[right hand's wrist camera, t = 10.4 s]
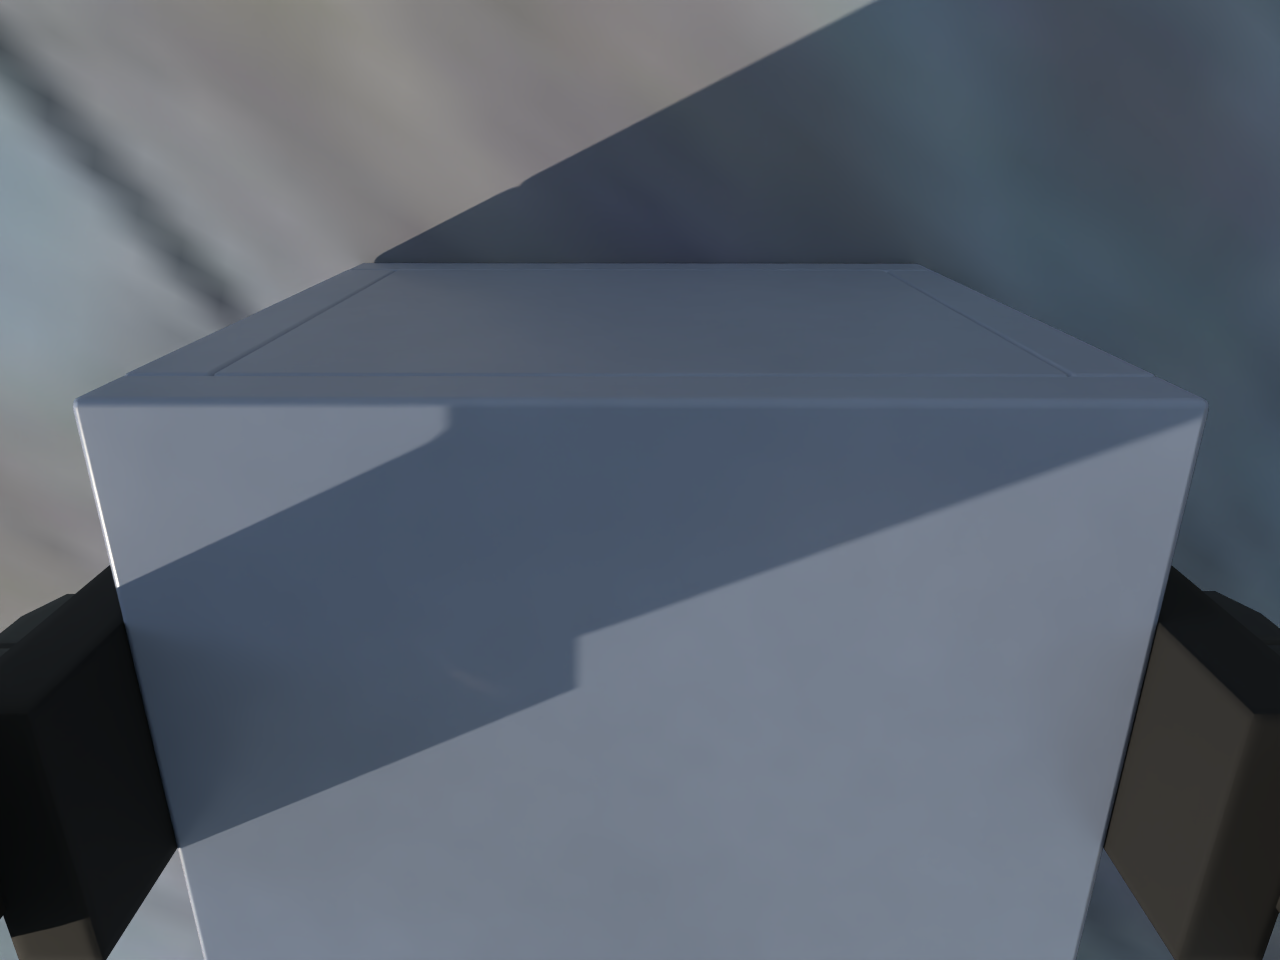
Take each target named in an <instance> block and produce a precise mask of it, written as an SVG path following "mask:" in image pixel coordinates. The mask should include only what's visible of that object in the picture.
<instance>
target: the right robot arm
mask: <svg viewBox="0 0 1280 960" xmlns="http://www.w3.org/2000/svg"><path fill="white" fill-rule="evenodd" d="M177 848H178V847H177V843H176V838H175V834H174V830H173V826H172V822H171V817H170V813H169V809H168V805H167V801H166V796H165V792H164V788H163V784H162V780H161V775H160V771H159V767H158V763H157V759H156V754H155V750H154V746H153V742H152V738H151V733H150V729H149V725H148V721H147V717H146V712H145V708H144V704H143V700H142V696H141V691H140V687H139V683H138V679H137V675H136V670H135V666H134V662H133V658H132V654H131V649H130V645H129V641H128V637H127V633H126V628H125V624H124V620H123V616H122V612H121V607H120V603H119V599H118V595H117V591H116V586H115V582H114V578H113V574H112V570H111V565H109V566H108V567H107V568H106V569H105V570H103V571H102V572H101V573H100V574H99V575H97V576H96V577H95V578H94V579H93V580H91V581H90V582H89V583H88V584H87V585H85V586H84V587H83V588H82V589H81V590H80V591H78V592H77V593H76V594H66V595H64V596H62V597H60V598H58V599H56V600H54V601H52V602H50V603H48V604H46V605H44V606H42V607H40V608H38V609H36V610H34V611H32V612H30V613H28V614H26V615H24V616H22V617H20V618H19V619H18V620H16V621H15V622H14V623H13V624H11V625H10V626H9V627H8V628H6V629H5V630H4V631H3V632H1V633H0V919H1V917H2V916H4V919H5V922H6V924H7V927H8V930H9V933H10V936H11V938H12V941H13V944H14V947H15V950H16V953H17V955H18V958H19V960H106V959H107V958H108V956H109V954H110V953H111V951H112V950H113V948H114V947H115V945H116V943H117V942H118V940H119V939H120V937H121V936H122V934H123V932H124V931H125V929H126V928H127V926H128V925H129V923H130V921H131V920H132V918H133V917H134V915H135V914H136V912H137V910H138V909H139V907H140V906H141V904H142V903H143V901H144V899H145V898H146V896H147V895H148V893H149V892H150V890H151V888H152V887H153V885H154V884H155V882H156V881H157V879H158V877H159V876H160V874H161V873H162V871H163V870H164V868H165V866H166V865H167V863H168V862H169V860H170V859H171V857H172V855H173V854H174V852H175V851H176V849H177ZM1103 848H1104V849H1105V851H1106V852H1107V854H1108V856H1109V857H1110V859H1111V860H1112V862H1113V863H1114V865H1115V867H1116V868H1117V870H1118V871H1119V873H1120V874H1121V876H1122V878H1123V879H1124V881H1125V882H1126V884H1127V885H1128V887H1129V889H1130V890H1131V892H1132V893H1133V895H1134V896H1135V898H1136V900H1137V901H1138V903H1139V904H1140V906H1141V907H1142V909H1143V910H1144V912H1145V914H1146V915H1147V917H1148V918H1149V920H1150V921H1151V923H1152V925H1153V926H1154V928H1155V929H1156V931H1157V932H1158V934H1159V936H1160V937H1161V939H1162V940H1163V942H1164V943H1165V945H1166V947H1167V948H1168V950H1169V951H1170V953H1171V954H1172V956H1173V958H1174V959H1175V960H1262V959H1263V956H1264V953H1265V950H1266V947H1267V945H1268V942H1269V939H1270V936H1271V933H1272V931H1273V928H1274V925H1275V922H1276V919H1277V917H1278V914H1279V912H1280V628H1278V627H1277V626H1276V625H1275V624H1273V623H1272V622H1271V621H1270V620H1268V619H1267V618H1266V617H1265V616H1263V615H1262V614H1261V613H1259V612H1257V611H1255V610H1253V609H1250V608H1248V607H1246V606H1244V605H1242V604H1240V603H1238V602H1236V601H1234V600H1232V599H1230V598H1228V597H1226V596H1224V595H1222V594H1220V593H1218V592H1216V591H1202V590H1200V589H1199V588H1198V587H1197V586H1196V585H1194V584H1193V583H1192V582H1191V581H1190V580H1188V579H1187V578H1186V577H1185V576H1184V575H1182V574H1181V573H1180V572H1179V571H1178V570H1176V569H1175V568H1174V567H1173V566H1172V565H1171V568H1170V572H1169V577H1168V581H1167V585H1166V589H1165V593H1164V597H1163V601H1162V606H1161V610H1160V614H1159V618H1158V622H1157V626H1156V630H1155V635H1154V639H1153V643H1152V647H1151V651H1150V655H1149V659H1148V664H1147V668H1146V672H1145V676H1144V680H1143V684H1142V689H1141V693H1140V697H1139V701H1138V705H1137V709H1136V713H1135V718H1134V722H1133V726H1132V730H1131V734H1130V738H1129V742H1128V747H1127V751H1126V755H1125V759H1124V763H1123V767H1122V771H1121V776H1120V780H1119V784H1118V788H1117V792H1116V796H1115V800H1114V805H1113V809H1112V813H1111V817H1110V821H1109V825H1108V830H1107V834H1106V838H1105V842H1104V846H1103Z"/></svg>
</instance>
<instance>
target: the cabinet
mask: <svg viewBox="0 0 1280 960" xmlns="http://www.w3.org/2000/svg"><path fill="white" fill-rule="evenodd" d="M73 410H74V414H75V418H76V423H77V427H78V431H79V435H80V439H81V444H82V448H83V452H84V456H85V460H86V465H87V469H88V473H89V477H90V481H91V486H92V490H93V494H94V498H95V502H96V507H97V511H98V515H99V519H100V523H101V528H102V532H103V536H104V540H105V544H106V549H107V553H108V557H109V561H110V565H111V570H112V574H113V578H114V582H115V586H116V591H117V595H118V599H119V603H120V607H121V612H122V616H123V620H124V624H125V628H126V633H127V637H128V641H129V645H130V649H131V654H132V658H133V662H134V666H135V670H136V675H137V679H138V683H139V687H140V691H141V696H142V700H143V704H144V708H145V712H146V717H147V721H148V725H149V729H150V733H151V738H152V742H153V746H154V750H155V754H156V759H157V763H158V767H159V771H160V775H161V780H162V784H163V788H164V792H165V796H166V801H167V805H168V809H169V813H170V817H171V822H172V826H173V830H174V834H175V838H176V843H177V847H178V851H179V855H180V859H181V864H182V868H183V872H184V876H185V880H186V885H187V889H188V893H189V897H190V901H191V906H192V910H193V914H194V918H195V922H196V927H197V931H198V935H199V939H200V943H201V948H202V952H203V956H204V960H1076V958H1077V954H1078V950H1079V946H1080V941H1081V937H1082V933H1083V929H1084V925H1085V921H1086V917H1087V912H1088V908H1089V904H1090V900H1091V896H1092V892H1093V888H1094V883H1095V879H1096V875H1097V871H1098V867H1099V863H1100V859H1101V854H1102V850H1103V846H1104V842H1105V838H1106V834H1107V830H1108V825H1109V821H1110V817H1111V813H1112V809H1113V805H1114V800H1115V796H1116V792H1117V788H1118V784H1119V780H1120V776H1121V771H1122V767H1123V763H1124V759H1125V755H1126V751H1127V747H1128V742H1129V738H1130V734H1131V730H1132V726H1133V722H1134V718H1135V713H1136V709H1137V705H1138V701H1139V697H1140V693H1141V689H1142V684H1143V680H1144V676H1145V672H1146V668H1147V664H1148V659H1149V655H1150V651H1151V647H1152V643H1153V639H1154V635H1155V630H1156V626H1157V622H1158V618H1159V614H1160V610H1161V606H1162V601H1163V597H1164V593H1165V589H1166V585H1167V581H1168V577H1169V572H1170V568H1171V564H1172V560H1173V556H1174V552H1175V548H1176V543H1177V539H1178V535H1179V531H1180V527H1181V523H1182V518H1183V514H1184V510H1185V506H1186V502H1187V498H1188V494H1189V489H1190V485H1191V481H1192V477H1193V473H1194V469H1195V465H1196V460H1197V456H1198V452H1199V448H1200V444H1201V440H1202V436H1203V431H1204V427H1205V423H1206V419H1207V415H1208V411H1209V406H1208V402H1207V400H1206V399H1204V398H1201V397H1199V396H1197V395H1195V394H1193V393H1191V392H1189V391H1187V390H1184V389H1182V388H1180V387H1178V386H1176V385H1174V384H1172V383H1170V382H1167V381H1165V380H1163V379H1161V378H1159V377H1156V376H1155V375H1154V374H1152V373H1150V372H1147V371H1145V370H1143V369H1141V368H1139V367H1137V366H1135V365H1133V364H1130V363H1128V362H1126V361H1124V360H1122V359H1120V358H1118V357H1116V356H1113V355H1111V354H1109V353H1107V352H1105V351H1103V350H1101V349H1098V348H1096V347H1094V346H1092V345H1090V344H1088V343H1086V342H1084V341H1081V340H1079V339H1077V338H1075V337H1073V336H1071V335H1069V334H1067V333H1064V332H1062V331H1060V330H1058V329H1056V328H1054V327H1052V326H1050V325H1047V324H1045V323H1043V322H1041V321H1039V320H1037V319H1035V318H1032V317H1030V316H1028V315H1026V314H1024V313H1022V312H1020V311H1018V310H1015V309H1013V308H1011V307H1009V306H1007V305H1005V304H1003V303H1001V302H998V301H996V300H994V299H992V298H990V297H988V296H986V295H983V294H981V293H979V292H977V291H975V290H973V289H971V288H969V287H966V286H964V285H962V284H960V283H958V282H956V281H954V280H952V279H949V278H947V277H945V276H943V275H941V274H939V273H937V272H934V271H932V270H930V269H928V268H926V267H924V266H921V265H919V264H696V263H363V264H361V265H358V266H356V267H354V268H352V269H350V270H347V271H345V272H343V273H340V274H338V275H336V276H334V277H332V278H330V279H328V280H325V281H323V282H321V283H319V284H317V285H315V286H313V287H310V288H308V289H306V290H304V291H302V292H300V293H298V294H296V295H293V296H291V297H289V298H287V299H285V300H283V301H281V302H278V303H276V304H274V305H272V306H270V307H268V308H266V309H263V310H261V311H259V312H257V313H255V314H253V315H251V316H248V317H246V318H244V319H242V320H240V321H238V322H236V323H234V324H231V325H229V326H227V327H225V328H223V329H221V330H219V331H216V332H214V333H212V334H210V335H208V336H206V337H204V338H201V339H199V340H197V341H195V342H193V343H191V344H189V345H186V346H184V347H182V348H180V349H178V350H176V351H174V352H172V353H169V354H167V355H165V356H163V357H161V358H159V359H157V360H154V361H152V362H150V363H148V364H146V365H144V366H142V367H139V368H137V369H135V370H133V371H131V372H129V373H127V374H126V375H125V376H123V377H121V378H118V379H116V380H114V381H112V382H110V383H108V384H106V385H103V386H101V387H99V388H97V389H95V390H93V391H91V392H89V393H86V394H84V395H82V396H80V397H78V398H76V399H75V400H74V404H73Z"/></svg>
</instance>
